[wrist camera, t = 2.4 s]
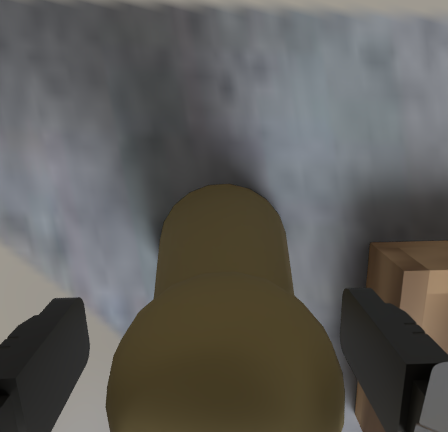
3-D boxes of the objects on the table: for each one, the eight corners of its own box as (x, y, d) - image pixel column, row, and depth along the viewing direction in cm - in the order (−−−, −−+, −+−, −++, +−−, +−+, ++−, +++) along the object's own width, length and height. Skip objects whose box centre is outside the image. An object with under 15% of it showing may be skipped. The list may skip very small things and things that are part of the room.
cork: (217, 156, 16) (208, 232, 5) (312, 240, 17) (463, 443, 6) (134, 251, 17) (-8, 470, 7) (228, 325, 18) (239, 614, 8)
